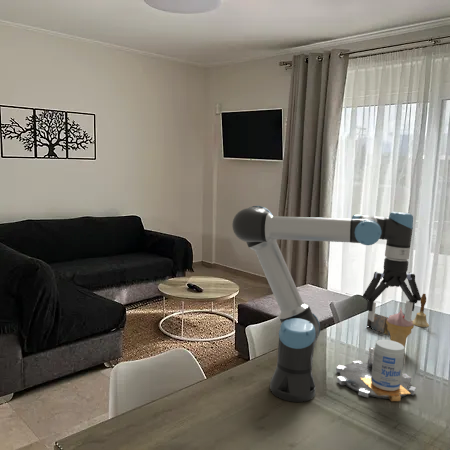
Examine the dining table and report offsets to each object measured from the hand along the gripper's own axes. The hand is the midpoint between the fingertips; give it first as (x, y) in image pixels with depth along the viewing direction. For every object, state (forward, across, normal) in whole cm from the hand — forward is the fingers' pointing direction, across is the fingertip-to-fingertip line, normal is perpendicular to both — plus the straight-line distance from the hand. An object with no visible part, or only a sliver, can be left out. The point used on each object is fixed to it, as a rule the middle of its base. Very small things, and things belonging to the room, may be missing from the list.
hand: (389, 320), depth 154 cm
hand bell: (+25, +58, +63) cm, 89 cm away
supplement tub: (+23, +1, -1) cm, 23 cm away
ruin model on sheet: (+26, +30, +55) cm, 68 cm away
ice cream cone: (+25, +26, +33) cm, 49 cm away
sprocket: (+25, 0, +5) cm, 26 cm away
